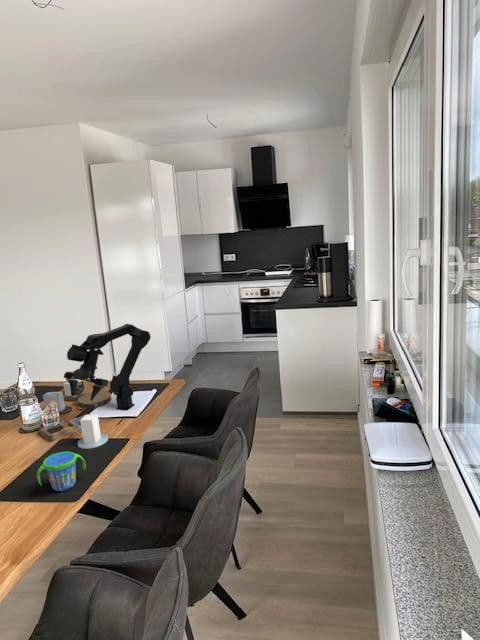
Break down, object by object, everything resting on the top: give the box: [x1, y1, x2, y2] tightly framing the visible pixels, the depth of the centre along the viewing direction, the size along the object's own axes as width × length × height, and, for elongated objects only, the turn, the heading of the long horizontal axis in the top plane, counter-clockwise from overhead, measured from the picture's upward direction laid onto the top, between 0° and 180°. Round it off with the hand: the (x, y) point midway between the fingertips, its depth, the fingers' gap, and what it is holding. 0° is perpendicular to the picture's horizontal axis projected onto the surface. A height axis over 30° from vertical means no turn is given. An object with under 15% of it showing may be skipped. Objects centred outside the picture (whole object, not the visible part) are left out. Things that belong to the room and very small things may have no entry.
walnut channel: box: [38, 419, 80, 443], centre depth 208 cm, size 12×11×2 cm
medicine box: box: [42, 391, 66, 412], centre depth 233 cm, size 8×4×9 cm, turn 84°
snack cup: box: [36, 451, 87, 492], centre depth 164 cm, size 16×10×10 cm
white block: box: [80, 414, 102, 443], centre depth 196 cm, size 5×5×10 cm
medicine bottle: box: [62, 370, 86, 398], centre depth 253 cm, size 7×7×12 cm
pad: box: [76, 433, 109, 450], centre depth 197 cm, size 12×12×1 cm
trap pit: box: [67, 413, 101, 431], centre depth 216 cm, size 10×10×2 cm
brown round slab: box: [77, 390, 112, 409], centre depth 240 cm, size 16×16×3 cm
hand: (81, 398), depth 213 cm, fingers open, 9 cm apart
